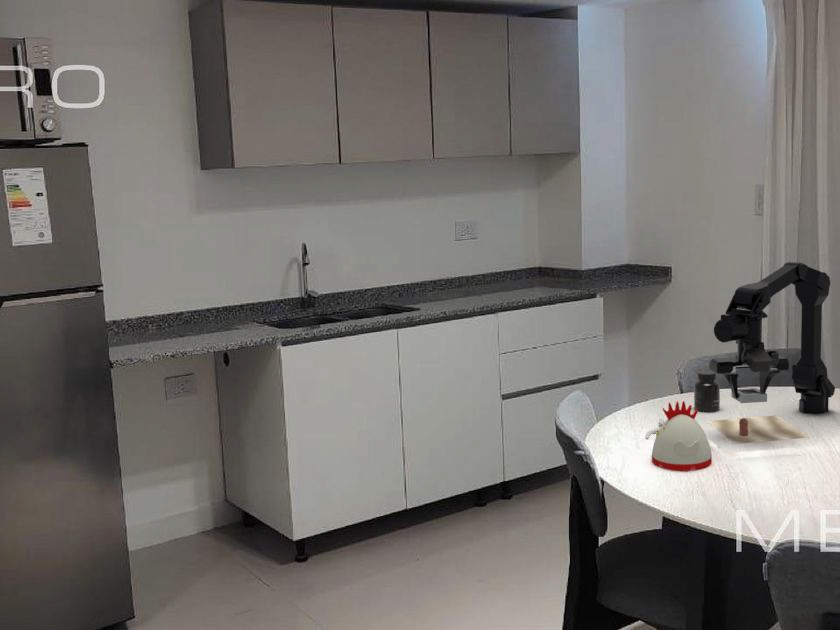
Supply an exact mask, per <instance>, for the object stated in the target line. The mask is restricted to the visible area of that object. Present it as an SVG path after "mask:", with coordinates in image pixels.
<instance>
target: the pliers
mask: <svg viewBox="0 0 840 630" xmlns="http://www.w3.org/2000/svg"><path fill="white" fill-rule="evenodd" d="M664 422H665V421H664V420H663V418H659V419H658V424H659V427H656V428H654V429H651V430H649V431H647V432H646V433H645V440H649V438H650V437H651V436H652V435H656V433H658V432H657V431H659V429H660V427H661V425H662V424H663V423H664ZM651 434H652V435H651ZM650 435H651V436H650ZM649 436H650V437H649Z"/></svg>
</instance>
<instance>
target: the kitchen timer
mask: <svg viewBox="0 0 840 630" xmlns="http://www.w3.org/2000/svg"><path fill="white" fill-rule="evenodd" d="M681 403H682V404H681V408H680V404H679V401H678V400H676V404H675V408H674V409H673V406H672V404H671V402H668V410H666V408H664V407H662V411H663V413H664V414H665V416H666V418H667V419H666V420H665V421H664V423H663V424H662V425H661V427H660V426H659V427H660V429H659V431H658V433H657V434H655V439H654V443H653V447H652V451H651V462H652V464H653V465H654V466H656V467H658V468H661V469H662V470H663V469H664V470H668V471H669V470H670V471H675V472H677V471H678V472H690V471H691V472H693V471H699V470H703V469H706V468H709V467H710V466H711V465H712V449H711V445H710V443H709V440H708V437H707V434H706V432H705V430H704V429H703V427H702V426H701V425H700V424H699V422H697V420H696V419H695V418H696V417H697V415H698V410H697V409H696V410H694V411H693V413H692V414H691V411H692V407H693V406H692V405H691V404H690V405H689V406H688V407H686V402H685V401H684V400H682V402H681Z"/></svg>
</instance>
